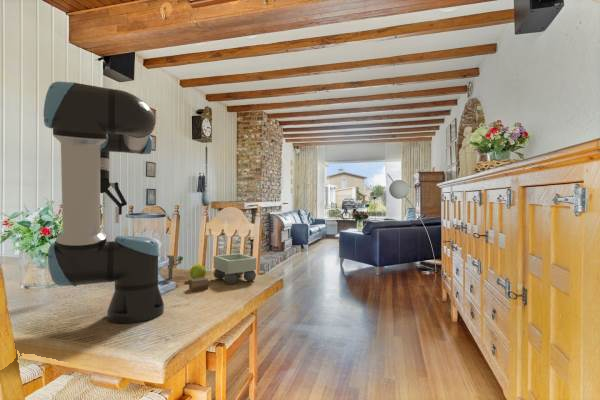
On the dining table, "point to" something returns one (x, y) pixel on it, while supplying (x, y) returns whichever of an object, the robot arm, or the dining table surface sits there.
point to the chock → (198, 284)
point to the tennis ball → (197, 271)
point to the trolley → (234, 267)
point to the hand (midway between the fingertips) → (97, 223)
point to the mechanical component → (171, 263)
